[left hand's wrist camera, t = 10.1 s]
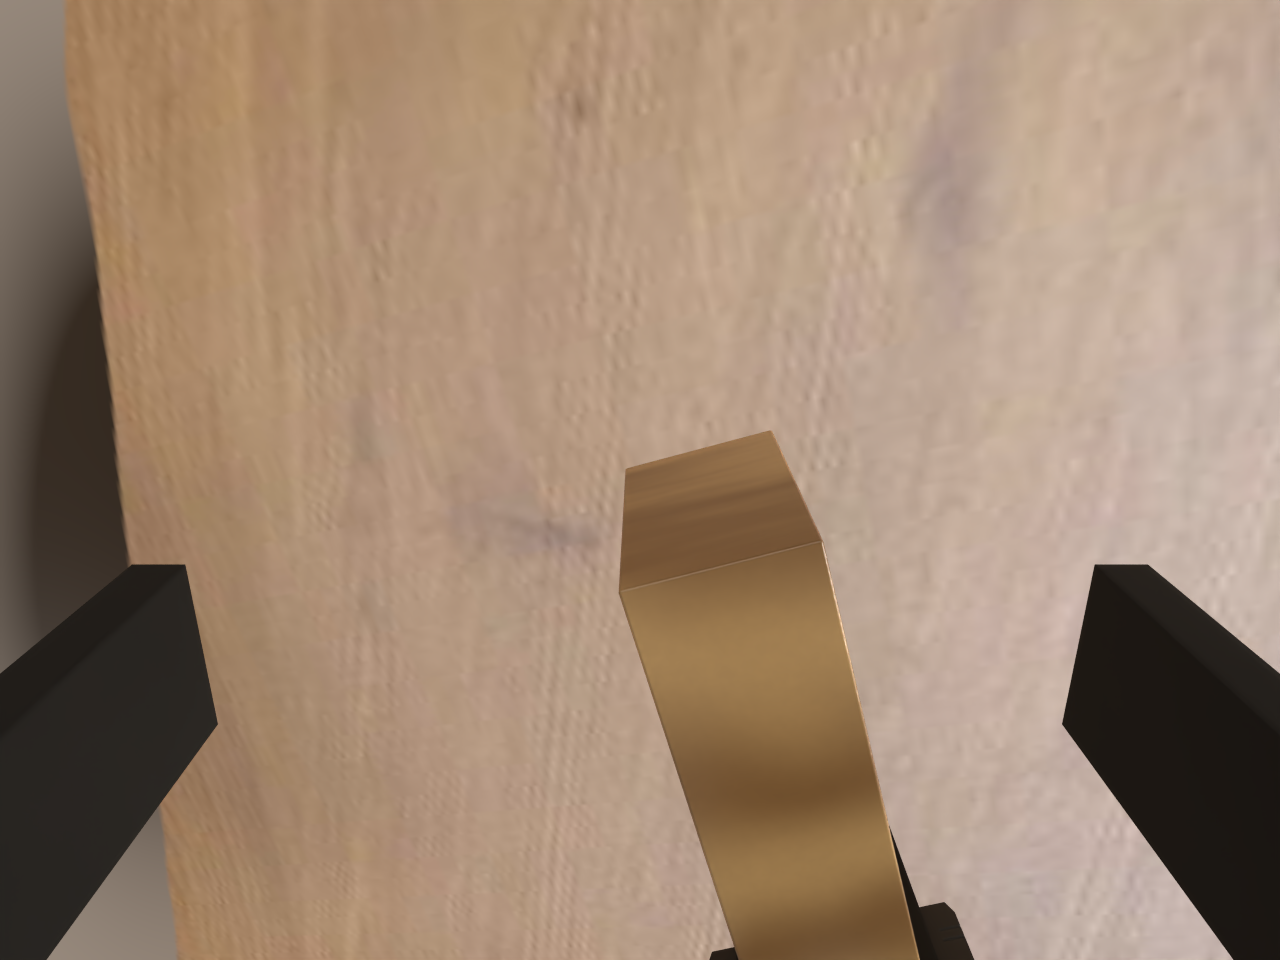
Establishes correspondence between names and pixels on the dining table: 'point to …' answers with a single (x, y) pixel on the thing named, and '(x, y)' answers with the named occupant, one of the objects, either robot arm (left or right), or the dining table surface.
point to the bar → (761, 704)
